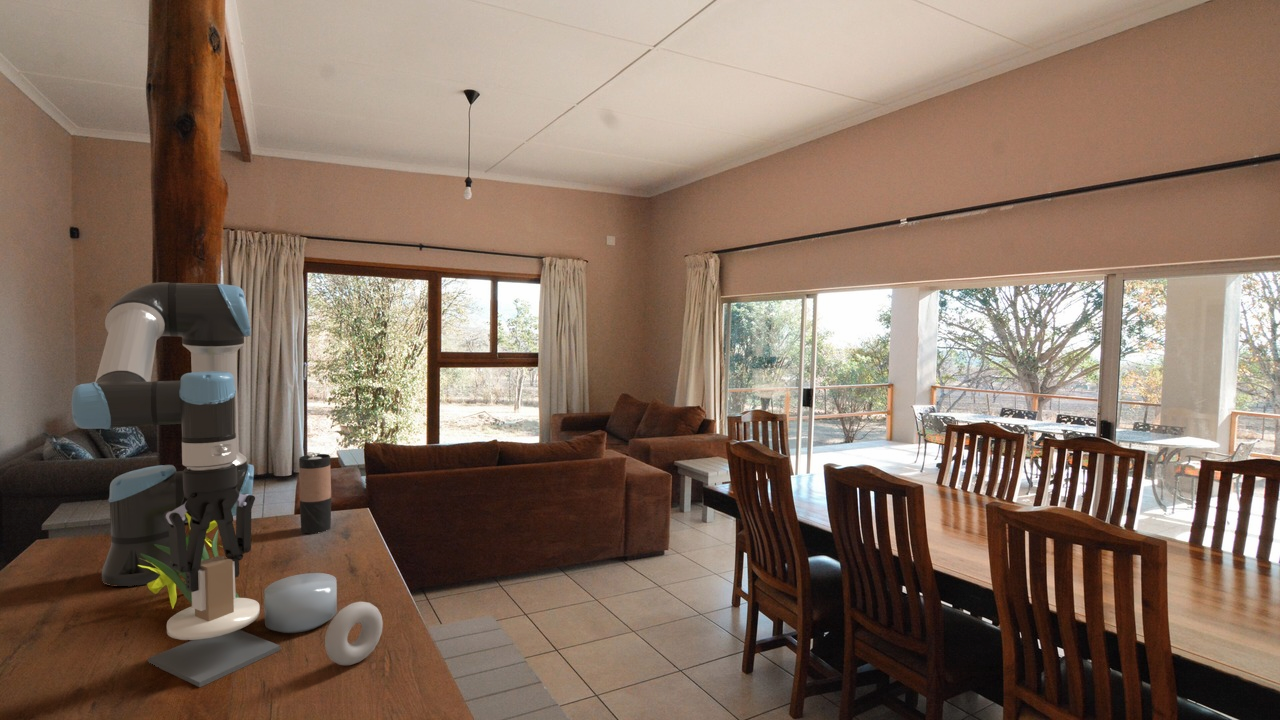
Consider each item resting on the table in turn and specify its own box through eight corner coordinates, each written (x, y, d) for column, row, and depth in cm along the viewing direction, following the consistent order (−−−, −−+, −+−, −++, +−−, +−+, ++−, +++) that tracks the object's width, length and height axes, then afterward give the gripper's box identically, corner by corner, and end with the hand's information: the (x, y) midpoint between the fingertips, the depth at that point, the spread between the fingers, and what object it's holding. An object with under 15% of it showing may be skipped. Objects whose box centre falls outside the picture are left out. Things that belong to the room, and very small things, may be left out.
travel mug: (318, 535, 170) (317, 460, 169) (293, 533, 172) (292, 458, 171) (337, 526, 178) (336, 454, 177) (313, 524, 179) (312, 453, 178)
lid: (150, 628, 106) (148, 567, 105) (231, 598, 117) (230, 543, 116) (195, 647, 100) (193, 582, 99) (276, 614, 111) (274, 556, 110)
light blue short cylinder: (250, 627, 119) (249, 590, 119) (310, 602, 130) (309, 568, 129) (292, 643, 113) (291, 604, 113) (350, 615, 124) (350, 580, 124)
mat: (148, 662, 106) (147, 658, 106) (229, 629, 118) (228, 625, 118) (199, 687, 100) (199, 682, 99) (280, 650, 111) (280, 645, 111)
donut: (374, 646, 113) (374, 590, 112) (387, 652, 111) (386, 595, 110) (320, 672, 104) (319, 612, 104) (333, 679, 102) (332, 617, 102)
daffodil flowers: (162, 657, 108) (105, 561, 129) (241, 666, 120) (177, 576, 140) (227, 565, 113) (162, 486, 133) (297, 582, 124) (227, 507, 144)
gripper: (165, 478, 98) (169, 629, 99) (274, 458, 113) (277, 589, 114) (139, 472, 101) (144, 618, 102) (248, 453, 116) (251, 581, 117)
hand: (214, 602), depth 108 cm, fingers closed on lid, 4 cm apart
